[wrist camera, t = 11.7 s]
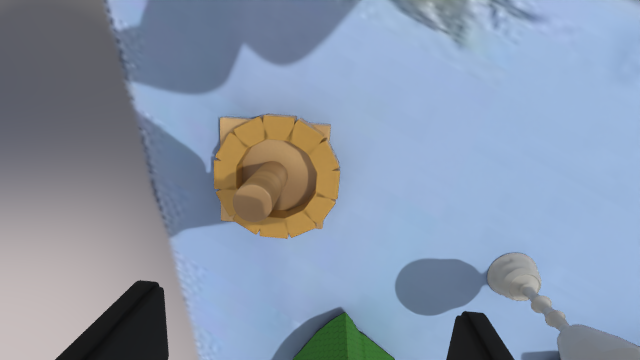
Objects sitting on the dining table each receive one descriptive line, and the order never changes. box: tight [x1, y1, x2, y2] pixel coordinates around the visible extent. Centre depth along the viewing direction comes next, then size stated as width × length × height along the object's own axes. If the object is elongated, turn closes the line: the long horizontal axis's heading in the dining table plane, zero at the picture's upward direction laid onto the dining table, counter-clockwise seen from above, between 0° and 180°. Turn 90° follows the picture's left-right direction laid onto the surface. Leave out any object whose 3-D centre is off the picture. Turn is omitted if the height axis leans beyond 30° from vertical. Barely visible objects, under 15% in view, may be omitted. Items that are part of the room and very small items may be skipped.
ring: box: [214, 114, 340, 239], centre depth 29 cm, size 11×11×2 cm
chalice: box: [487, 253, 640, 360], centre depth 25 cm, size 7×7×18 cm
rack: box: [220, 116, 331, 229], centre depth 27 cm, size 10×10×10 cm
